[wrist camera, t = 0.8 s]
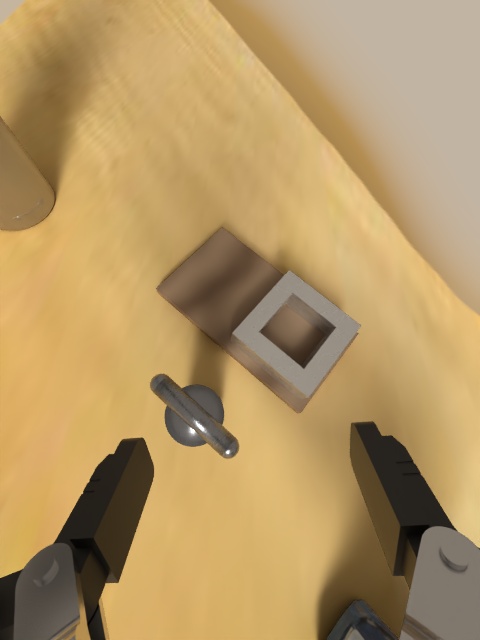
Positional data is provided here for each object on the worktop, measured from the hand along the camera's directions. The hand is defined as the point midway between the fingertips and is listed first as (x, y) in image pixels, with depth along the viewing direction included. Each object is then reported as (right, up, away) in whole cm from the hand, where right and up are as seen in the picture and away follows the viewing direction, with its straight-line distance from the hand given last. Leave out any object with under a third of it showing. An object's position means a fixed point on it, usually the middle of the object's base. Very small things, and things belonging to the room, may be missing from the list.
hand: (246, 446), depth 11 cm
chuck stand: (+2, +6, +25) cm, 26 cm away
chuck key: (-4, -6, +21) cm, 22 cm away
